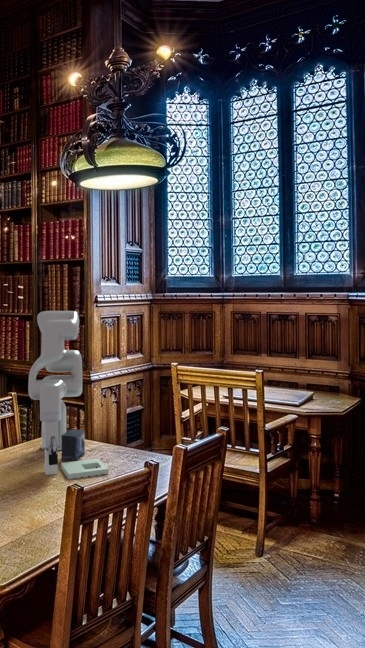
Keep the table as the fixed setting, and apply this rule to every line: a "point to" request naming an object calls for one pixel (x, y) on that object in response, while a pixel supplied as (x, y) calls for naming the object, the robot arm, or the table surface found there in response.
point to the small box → (73, 445)
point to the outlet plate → (84, 468)
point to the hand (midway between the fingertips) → (50, 461)
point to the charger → (49, 468)
